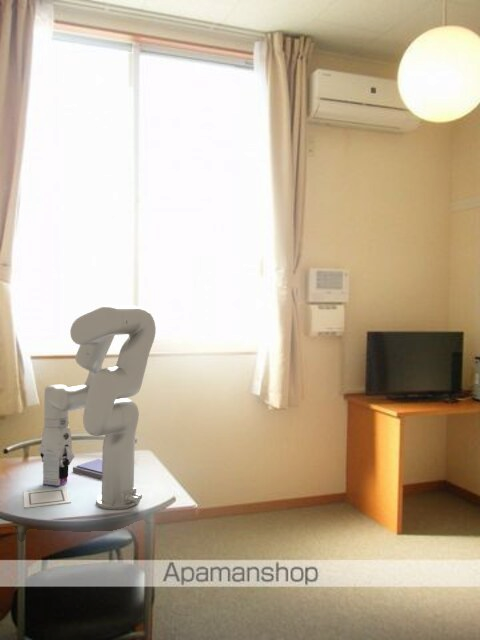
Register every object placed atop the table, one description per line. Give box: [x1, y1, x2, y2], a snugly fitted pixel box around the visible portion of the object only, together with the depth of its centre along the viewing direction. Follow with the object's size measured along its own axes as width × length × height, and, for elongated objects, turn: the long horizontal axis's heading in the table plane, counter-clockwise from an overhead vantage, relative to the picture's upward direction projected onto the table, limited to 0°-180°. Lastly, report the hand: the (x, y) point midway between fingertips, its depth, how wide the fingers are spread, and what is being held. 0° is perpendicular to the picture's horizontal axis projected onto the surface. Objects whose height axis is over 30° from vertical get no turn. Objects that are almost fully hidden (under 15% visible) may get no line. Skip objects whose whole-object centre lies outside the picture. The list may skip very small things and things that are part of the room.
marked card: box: [23, 487, 71, 509], centre depth 166 cm, size 13×13×1 cm
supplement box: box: [42, 450, 68, 488], centre depth 178 cm, size 6×6×12 cm
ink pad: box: [72, 458, 102, 480], centre depth 193 cm, size 14×12×2 cm
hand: (55, 475), depth 178 cm, fingers closed on supplement box, 7 cm apart
